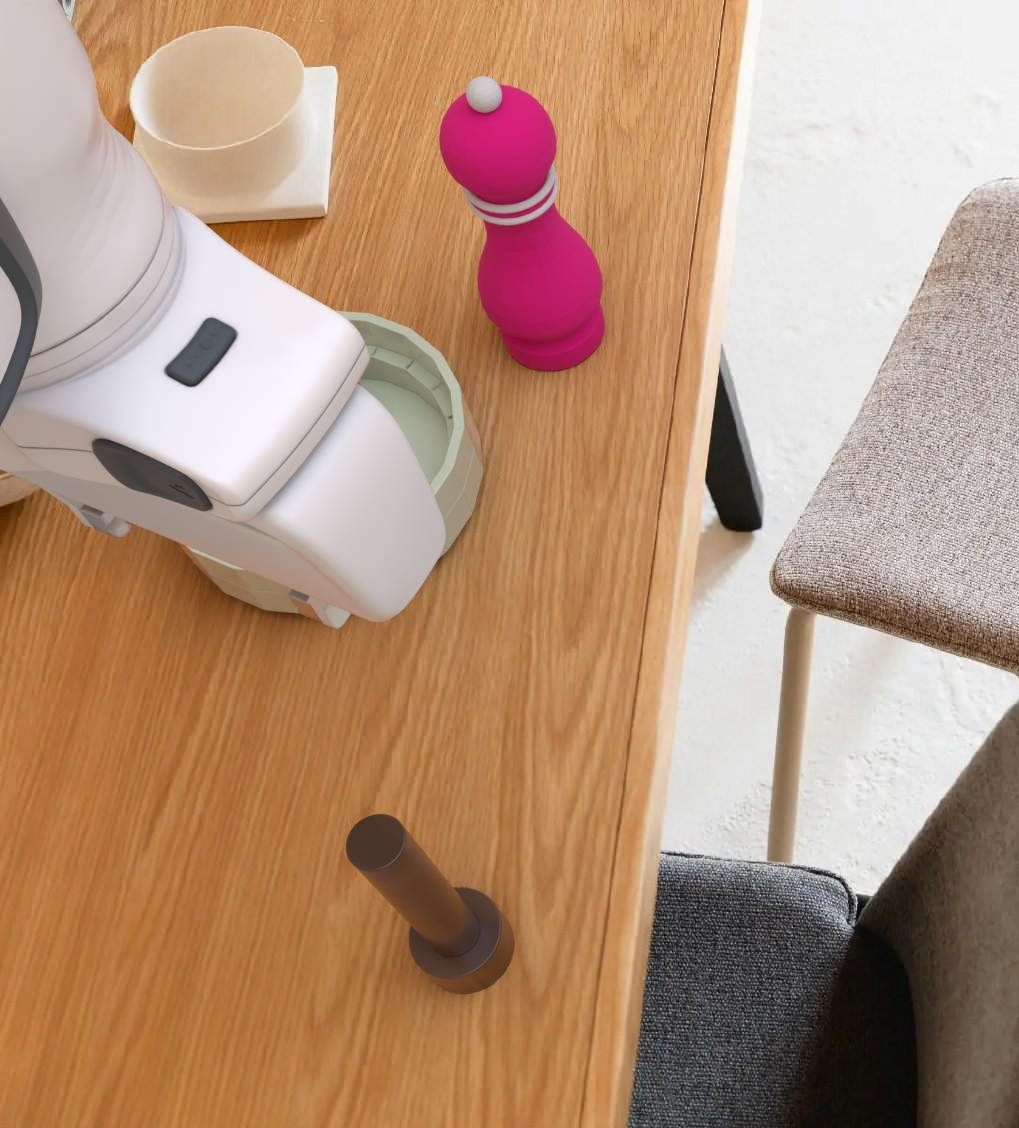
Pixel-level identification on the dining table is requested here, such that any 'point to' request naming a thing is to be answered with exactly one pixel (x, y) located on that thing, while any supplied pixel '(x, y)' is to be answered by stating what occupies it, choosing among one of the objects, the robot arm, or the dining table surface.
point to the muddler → (433, 908)
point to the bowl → (431, 425)
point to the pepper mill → (523, 227)
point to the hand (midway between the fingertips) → (225, 561)
